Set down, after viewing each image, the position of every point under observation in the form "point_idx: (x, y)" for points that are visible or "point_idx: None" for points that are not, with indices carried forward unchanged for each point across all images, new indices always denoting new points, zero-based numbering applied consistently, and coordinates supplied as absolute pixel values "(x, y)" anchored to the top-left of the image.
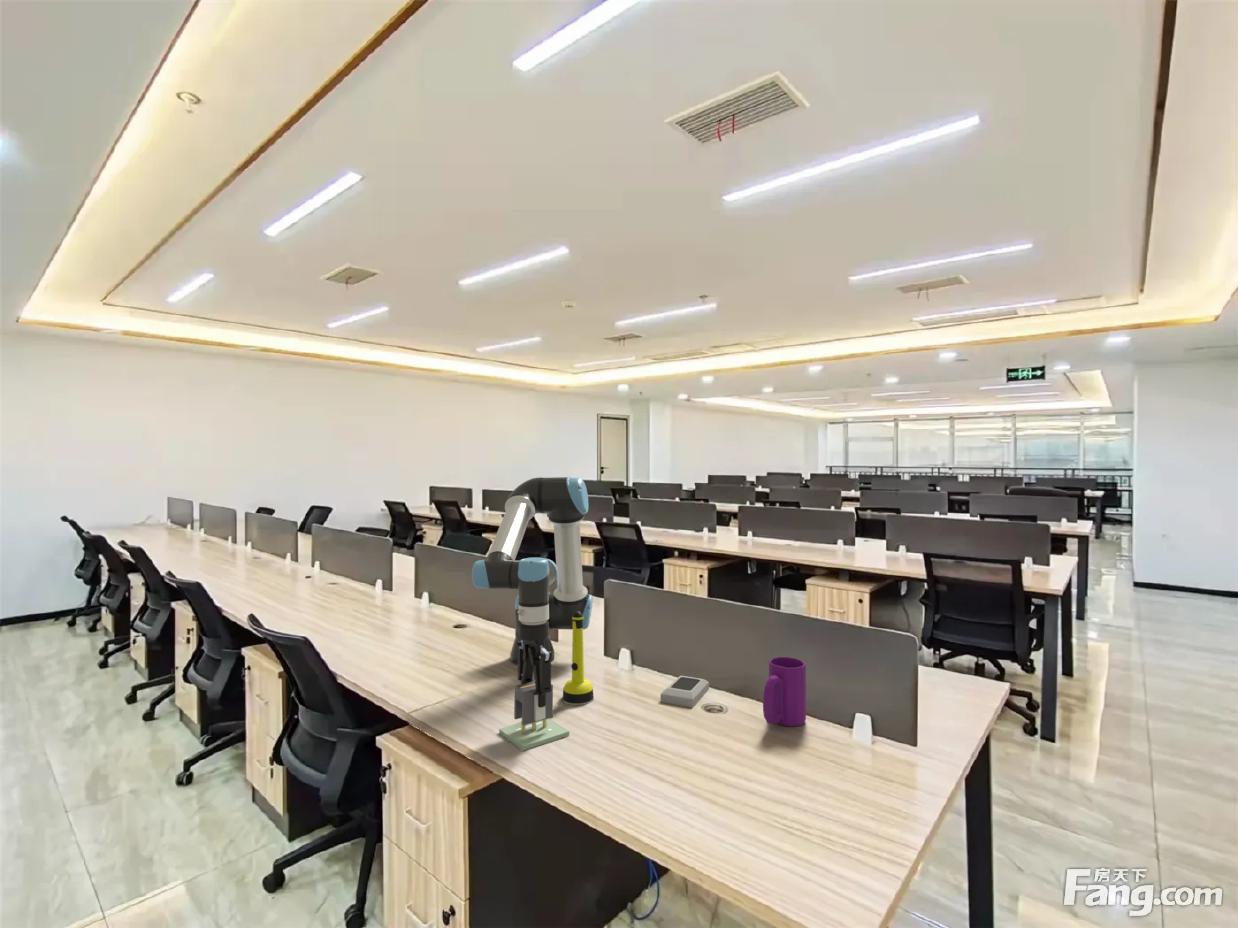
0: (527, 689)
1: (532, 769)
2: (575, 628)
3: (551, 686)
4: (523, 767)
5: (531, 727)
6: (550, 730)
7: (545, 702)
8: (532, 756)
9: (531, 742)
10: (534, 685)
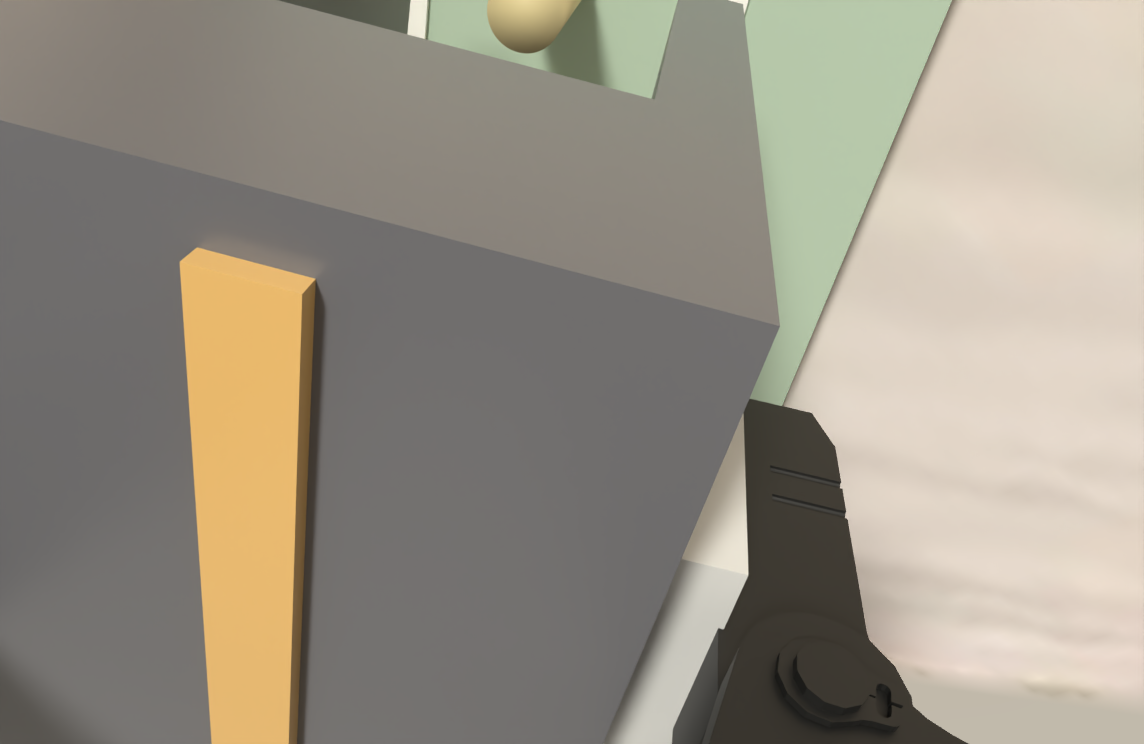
0: None
1: (1066, 604)
2: None
3: (757, 370)
4: (967, 614)
5: None
6: None
7: (838, 481)
8: (911, 472)
9: (761, 385)
10: (291, 700)
